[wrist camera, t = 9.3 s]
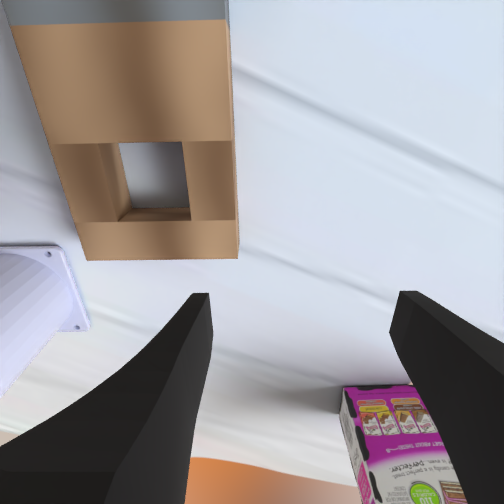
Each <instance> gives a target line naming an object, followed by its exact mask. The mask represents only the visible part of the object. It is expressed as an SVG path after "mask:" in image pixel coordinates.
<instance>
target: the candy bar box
mask: <svg viewBox="0 0 504 504" xmlns="http://www.w3.org/2000/svg"><path fill="white" fill-rule="evenodd" d="M339 419H340V423H341V427H342V431H343V434H344V438H345V441H346V445H347V449H348V452H349V456H350V460H351V464H352V468H353V471H354V475H355V478H356V482H357V485H358V489H359V493H360V497H361V501H362V504H467V501H466V498H465V496H464V493H463V490H462V488H461V485H460V483H459V480H458V478H457V475H456V473H455V470H454V468H453V465H452V463H451V460H450V458H449V456H448V453H447V451H446V449H445V446H444V444H443V442H442V439H441V437H440V435H439V432H438V430H437V428H436V426H435V424H434V422H433V420H432V418H431V416H430V414H429V412H428V410H427V409H426V407H425V405H424V403H423V401H422V399H421V398H420V396H419V394H418V392H417V390H416V389H415V387H414V385H394V386H369V387H346V388H343V392H342V401H341V406H340V412H339Z"/></svg>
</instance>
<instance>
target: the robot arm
mask: <svg viewBox="0 0 504 504" xmlns="http://www.w3.org/2000/svg"><path fill="white" fill-rule="evenodd" d="M47 251H48V252H50V253H51V255H50V254H49V253H48V252H47ZM77 325H78V326H77ZM90 326H91V325H90V322H89V319H88V317H87V314H86V311H85V308H84V306H83V303H82V300H81V297H80V295H79V292H78V289H77V286H76V284H75V281H74V278H73V275H72V273H71V270H70V267H69V264H68V262H67V259H66V256H65V253H64V251H63V250H62V249H61V248H60V247H58V246H17V247H0V398H1V397H2V396H3V395H4V394H5V392H6V391H7V390H8V389H9V388H10V386H11V385H12V384H13V383H14V382H15V381H16V379H17V378H18V377H19V376H20V375H21V373H22V372H23V371H24V370H25V369H26V368H27V366H28V365H29V364H30V363H31V362H32V360H33V359H34V358H35V357H36V356H37V354H38V353H39V352H40V351H41V350H42V349H43V347H44V346H45V345H46V344H47V343H48V341H49V340H50V339H51V338H52V337H53V336H54V334H55V333H56V332H82V331H88V330H89V328H90ZM389 333H390V336H391V339H392V342H393V344H394V347H395V350H396V352H397V355H398V357H399V359H400V361H401V363H402V365H403V367H404V368H405V370H406V372H407V374H408V376H409V378H410V379H411V381H412V383H413V385H414V387H415V389H416V390H417V392H418V394H419V396H420V398H421V399H422V401H423V403H424V405H425V407H426V409H427V410H428V412H429V414H430V416H431V418H432V420H433V422H434V424H435V426H436V428H437V430H438V432H439V435H440V437H441V439H442V442H443V444H444V446H445V449H446V451H447V453H448V456H449V458H450V460H451V463H452V465H453V468H454V470H455V473H456V475H457V478H458V480H459V483H460V485H461V488H462V490H463V493H464V496H465V498H466V501H467V504H504V343H502V342H501V341H499V340H497V339H495V338H494V337H492V336H490V335H488V334H487V333H485V332H483V331H482V330H480V329H478V328H477V327H475V326H473V325H472V324H470V323H468V322H467V321H465V320H464V319H462V318H460V317H459V316H457V315H456V314H454V313H452V312H451V311H449V310H448V309H446V308H444V307H443V306H441V305H440V304H438V303H437V302H435V301H433V300H432V299H430V298H428V297H427V296H425V295H423V294H422V293H420V292H418V291H400V293H399V296H398V300H397V304H396V308H395V312H394V316H393V319H392V323H391V327H390V331H389ZM212 341H213V326H212V317H211V308H210V299H209V293H193V294H191V295H190V297H189V298H188V299H187V300H186V302H185V303H184V304H183V305H182V307H181V308H180V309H179V310H178V311H177V313H176V314H175V315H174V316H173V317H172V318H171V320H170V321H169V322H168V323H167V324H166V325H165V326H164V327H163V329H162V330H161V331H160V332H159V333H158V334H157V335H156V336H155V337H154V338H153V339H152V340H151V341H150V342H149V343H148V344H147V345H146V346H145V347H144V348H143V349H142V350H141V351H140V352H139V353H138V354H137V355H136V356H134V357H133V358H132V359H131V360H130V361H129V362H128V363H127V364H125V365H124V366H123V367H122V368H121V369H119V370H118V371H117V372H116V373H114V374H113V375H112V376H110V377H109V378H108V379H106V380H105V381H104V382H102V383H101V384H100V385H98V386H97V387H96V388H94V389H93V390H92V391H90V392H89V393H88V394H86V395H85V396H83V397H82V398H80V399H79V400H77V401H76V402H74V403H73V404H71V405H70V406H68V407H67V408H65V409H63V410H62V411H60V412H59V413H57V414H56V415H54V416H52V417H51V418H49V419H47V420H46V421H44V422H42V423H41V424H39V425H37V426H35V427H34V428H32V429H30V430H28V431H27V432H25V433H23V434H21V435H20V436H18V437H16V438H15V439H13V440H11V441H9V442H7V443H6V444H4V445H2V446H1V447H0V504H184V503H185V495H186V487H187V479H188V471H189V464H190V456H191V449H192V442H193V435H194V428H195V423H196V418H197V413H198V409H199V405H200V401H201V397H202V392H203V388H204V384H205V380H206V375H207V371H208V367H209V363H210V358H211V350H212Z"/></svg>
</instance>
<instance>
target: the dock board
mask: <svg viewBox="0 0 504 504" xmlns="http://www.w3.org/2000/svg"><path fill="white" fill-rule="evenodd" d="M1 1H2V4H3V7H4V10H5V13H6V16H7V19H8V22H9V25H10V28H11V31H12V34H13V37H14V40H15V43H16V47H17V50H18V53H19V56H20V59H21V62H22V65H23V68H24V71H25V74H26V77H27V80H28V83H29V86H30V89H31V92H32V95H33V98H34V101H35V104H36V108H37V111H38V114H39V117H40V120H41V123H42V126H43V129H44V132H45V135H46V138H47V141H48V144H49V147H50V150H51V153H52V156H53V159H54V162H55V165H56V168H57V172H58V175H59V178H60V181H61V184H62V187H63V190H64V193H65V196H66V199H67V202H68V205H69V208H70V211H71V214H72V217H73V220H74V223H75V226H76V229H77V233H78V236H79V239H80V242H81V245H82V248H83V251H84V254H85V257H86V260H87V261H94V260H172V259H238V250H239V222H238V200H237V178H236V156H235V134H234V112H233V90H232V68H231V46H230V24H229V2H228V0H1ZM134 142H182V148H183V156H184V164H185V171H186V179H187V187H188V195H189V203H190V207H182V208H132V204H131V199H130V195H129V190H128V186H127V181H126V177H125V172H124V168H123V163H122V159H121V154H120V150H119V145H118V143H134Z"/></svg>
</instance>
